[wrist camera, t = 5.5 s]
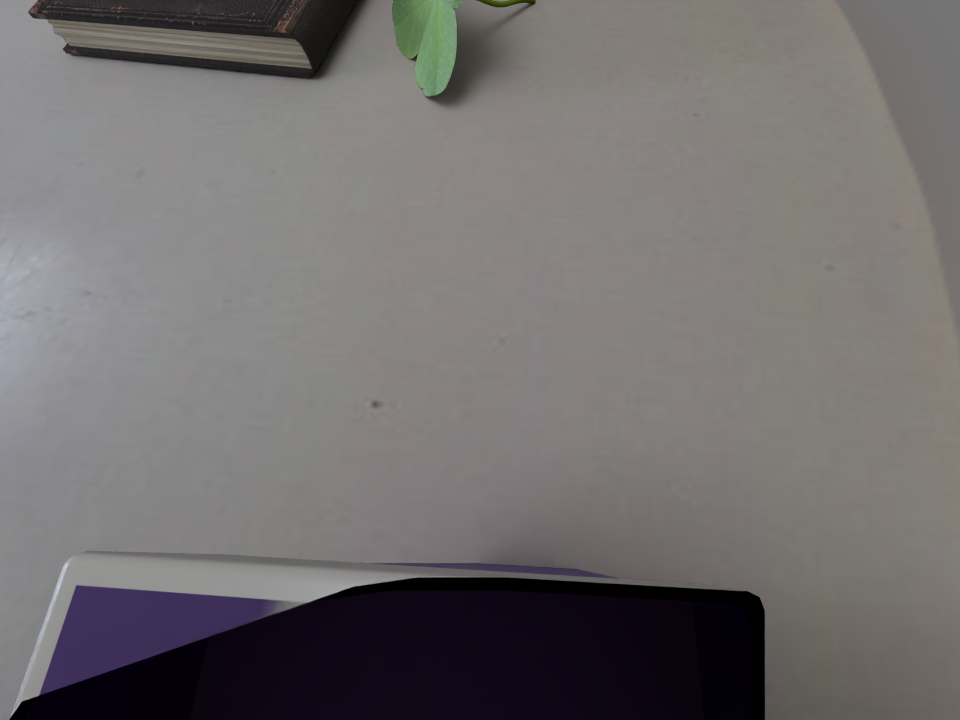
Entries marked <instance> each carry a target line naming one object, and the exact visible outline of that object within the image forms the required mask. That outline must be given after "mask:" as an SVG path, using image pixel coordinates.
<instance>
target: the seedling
mask: <svg viewBox="0 0 960 720" xmlns="http://www.w3.org/2000/svg"><path fill="white" fill-rule="evenodd" d="M448 1H449V2H450V3H449V2H448ZM448 1H447V0H394V1H393V9H392V12H393V22H394V26H395V34H396V41H397V44H398V47H399V49H400V51H401V52H402V54H403V55H404V56H406V58H410V59H412V58H414V57H415V56H416V55H417V54H418V56H417V61H416V65H415V80H416V83H417V85H418V87H420V88H423V93H424V95H426V96H433V95H434V96H435V95H437V94H440V93H441V92H442V91H443V90H444V89H445V88H446V86H447V84H448V81H449V79H450V77H451V73H452V70H453V67H454V64H455V58H456V49H457V22H456V18H455V14H456V13H455V12H454V10H453V7H454V8H459V6H460V5H461V3H462V1H463V0H448ZM477 1H480V2H482V3H485V4H487V5H490V6H494V7H507V6H510V5H514V4H518V3H531V4H535V0H509V1H504V2H497V1H493V0H477Z"/></svg>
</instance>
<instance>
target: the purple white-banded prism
mask: <svg viewBox="0 0 960 720" xmlns="http://www.w3.org/2000/svg"><path fill="white" fill-rule="evenodd" d="M10 720H765V610H764V608H763V605H762V602H761V600H760V597H758V596H756V595H754V594H752V593H750V592H748V591H741V590H734V589H727V588H720V587H713V586H706V585H699V584H692V583H679V582H663V581H647V580H630V579H618V578H614V577H609V576H605V575H600V574H596V573H591V572H587V571H583V570H578V569H564V568H547V567H531V566H514V565H497V564H480V563H354V562H338V561H322V560H305V559H289V558H273V557H257V556H240V555H222V554H185V553H148V552H111V551H85V552H83V553H80V554H77V555H74V556H71V557H70V558H69V559H68V560H67V562H66V563H65V564H64V566H63V568H62V571H61V574H60V577H59V580H58V582H57V585H56V588H55V591H54V594H53V597H52V600H51V602H50V605H49V608H48V611H47V614H46V617H45V620H44V622H43V625H42V628H41V631H40V634H39V637H38V640H37V642H36V645H35V648H34V651H33V654H32V657H31V660H30V662H29V665H28V668H27V671H26V674H25V677H24V680H23V682H22V685H21V688H20V691H19V694H18V697H17V700H16V702H15V705H14V708H13V711H12V714H11V717H10Z"/></svg>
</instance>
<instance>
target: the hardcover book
mask: <svg viewBox="0 0 960 720" xmlns="http://www.w3.org/2000/svg"><path fill="white" fill-rule="evenodd" d="M356 1H357V0H38V1H37V2H36V3H35V5H34V6H33V7H32V8H31V9H30V10H29V14H30V15H31V16H32V17H33V18H37V19H48V22H49V24H52V25H53V29H54V33H55V34H57V35H59V36H61V37H63V38H64V40H65V42H67V45H66V46H65V47H64V48H63V50H64V51H65V52H66V53H68V54H77V55H87V56H97V57H107V58H117V59H127V60H137V61H147V62H157V63H167V64H177V65H187V66H197V67H207V68H217V69H227V70H237V71H247V72H257V73H267V74H277V75H287V76H297V77H307V78H310V77H312V76H313V75H314V74H315V72H316V70H317V69H318V67H319V65H320V63H321V62H322V60H323V58H324V56H325V55H326V53H327V51H328V49H329V48H330V46H331V44H332V42H333V41H334V39H335V37H336V36H337V34H338V32H339V30H340V29H341V27H342V25H343V23H344V22H345V20H346V18H347V16H348V15H349V13H350V11H351V9H352V8H353V6H354V4H355V2H356Z"/></svg>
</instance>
